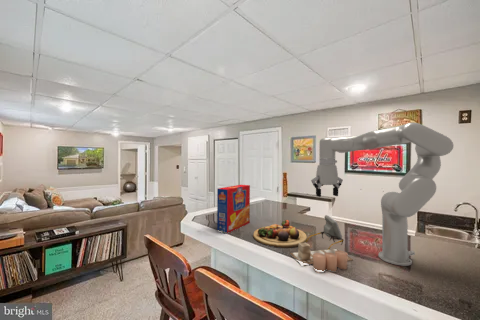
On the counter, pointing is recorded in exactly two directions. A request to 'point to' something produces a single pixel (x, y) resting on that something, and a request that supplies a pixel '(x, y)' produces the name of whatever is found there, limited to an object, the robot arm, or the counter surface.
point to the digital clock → (331, 227)
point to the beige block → (304, 251)
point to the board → (310, 261)
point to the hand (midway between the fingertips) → (327, 196)
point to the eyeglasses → (330, 238)
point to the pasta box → (233, 207)
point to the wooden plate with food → (280, 235)
